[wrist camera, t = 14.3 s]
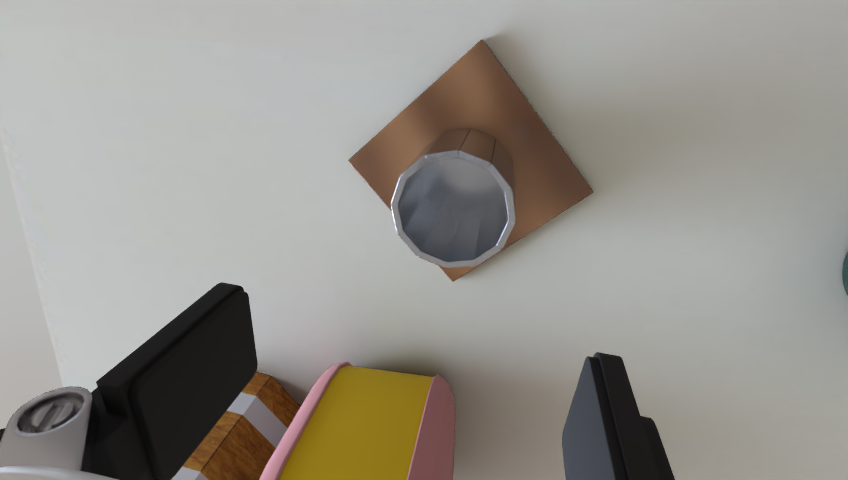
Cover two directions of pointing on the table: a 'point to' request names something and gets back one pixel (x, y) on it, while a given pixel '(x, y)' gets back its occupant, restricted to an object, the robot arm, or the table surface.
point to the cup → (457, 199)
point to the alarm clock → (369, 429)
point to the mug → (243, 434)
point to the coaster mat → (489, 112)
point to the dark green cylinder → (845, 274)
